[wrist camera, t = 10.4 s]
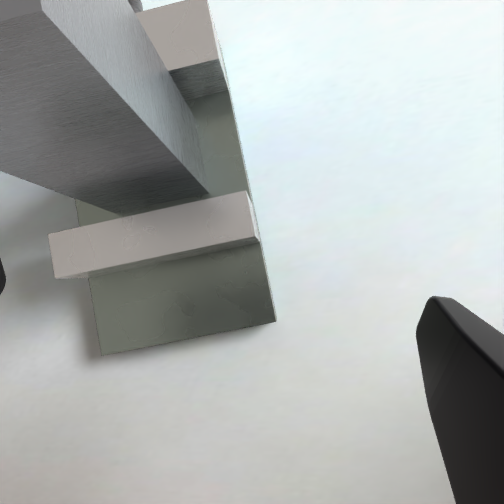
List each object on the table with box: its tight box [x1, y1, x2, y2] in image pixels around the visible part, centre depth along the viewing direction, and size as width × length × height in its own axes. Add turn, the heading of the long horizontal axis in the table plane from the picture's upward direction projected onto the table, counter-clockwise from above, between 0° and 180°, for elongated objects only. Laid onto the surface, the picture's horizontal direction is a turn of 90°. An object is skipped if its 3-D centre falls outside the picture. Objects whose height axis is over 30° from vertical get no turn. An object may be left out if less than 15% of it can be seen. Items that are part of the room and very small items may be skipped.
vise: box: [48, 0, 277, 356], centre depth 20 cm, size 18×9×4 cm, turn 12°
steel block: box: [0, 0, 209, 213], centre depth 14 cm, size 4×5×14 cm
